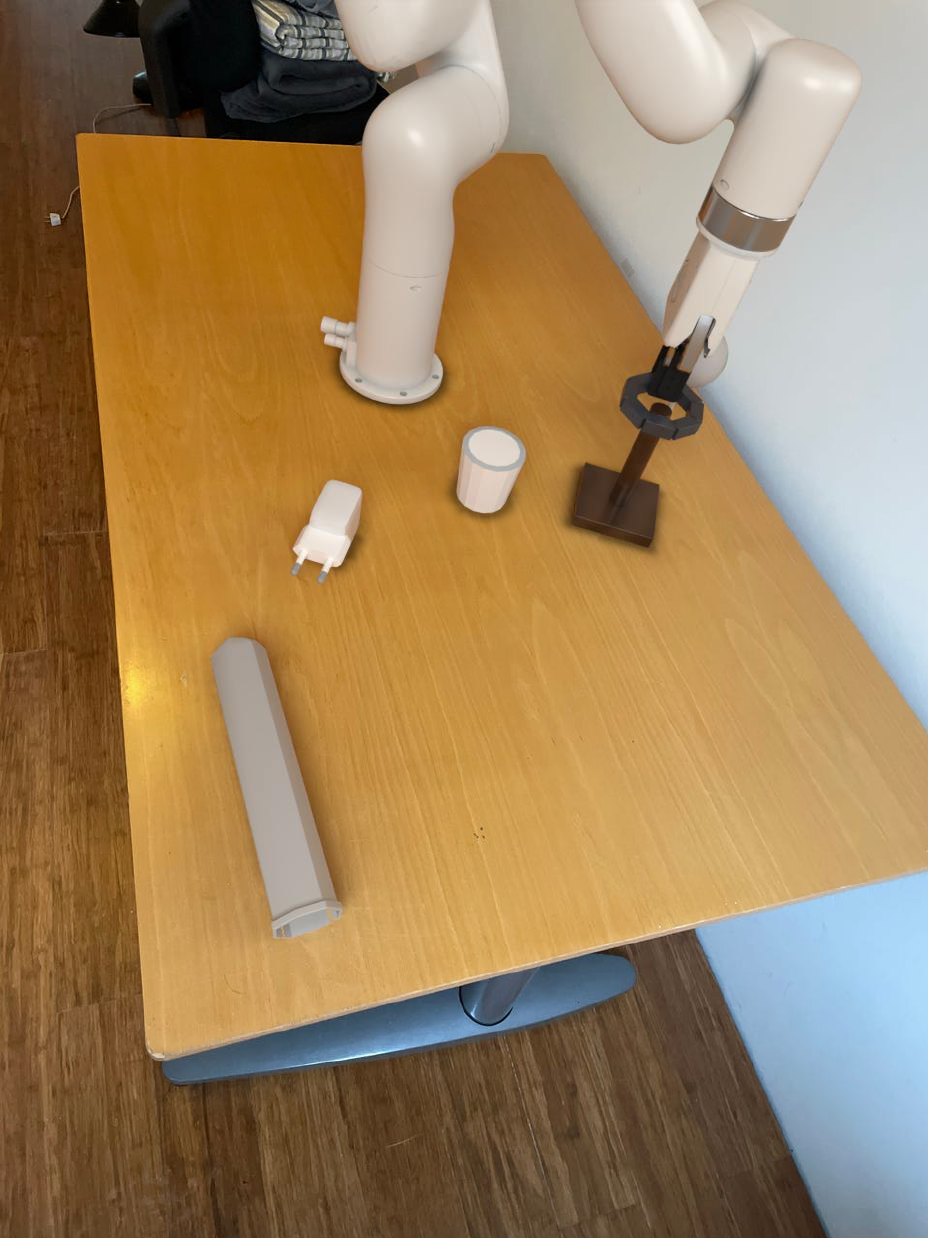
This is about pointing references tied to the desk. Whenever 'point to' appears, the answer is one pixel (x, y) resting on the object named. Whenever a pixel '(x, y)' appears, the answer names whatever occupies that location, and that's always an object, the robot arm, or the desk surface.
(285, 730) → the tube
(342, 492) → the power adapter
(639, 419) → the ring
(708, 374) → the lollipop
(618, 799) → the desk surface
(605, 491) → the post
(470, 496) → the shot glass
